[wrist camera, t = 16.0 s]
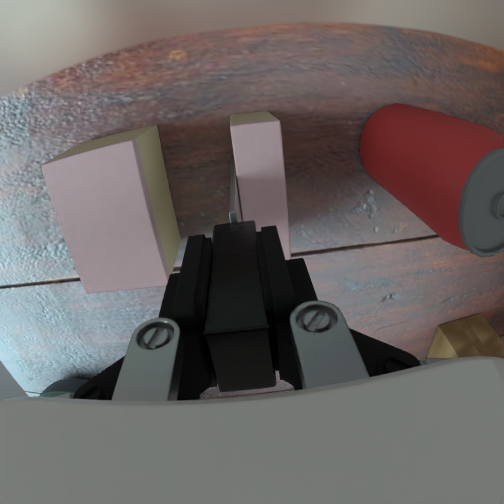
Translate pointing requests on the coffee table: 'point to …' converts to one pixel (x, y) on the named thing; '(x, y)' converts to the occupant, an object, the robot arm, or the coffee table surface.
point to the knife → (237, 305)
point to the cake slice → (261, 172)
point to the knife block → (466, 339)
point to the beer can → (440, 173)
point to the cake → (116, 210)
